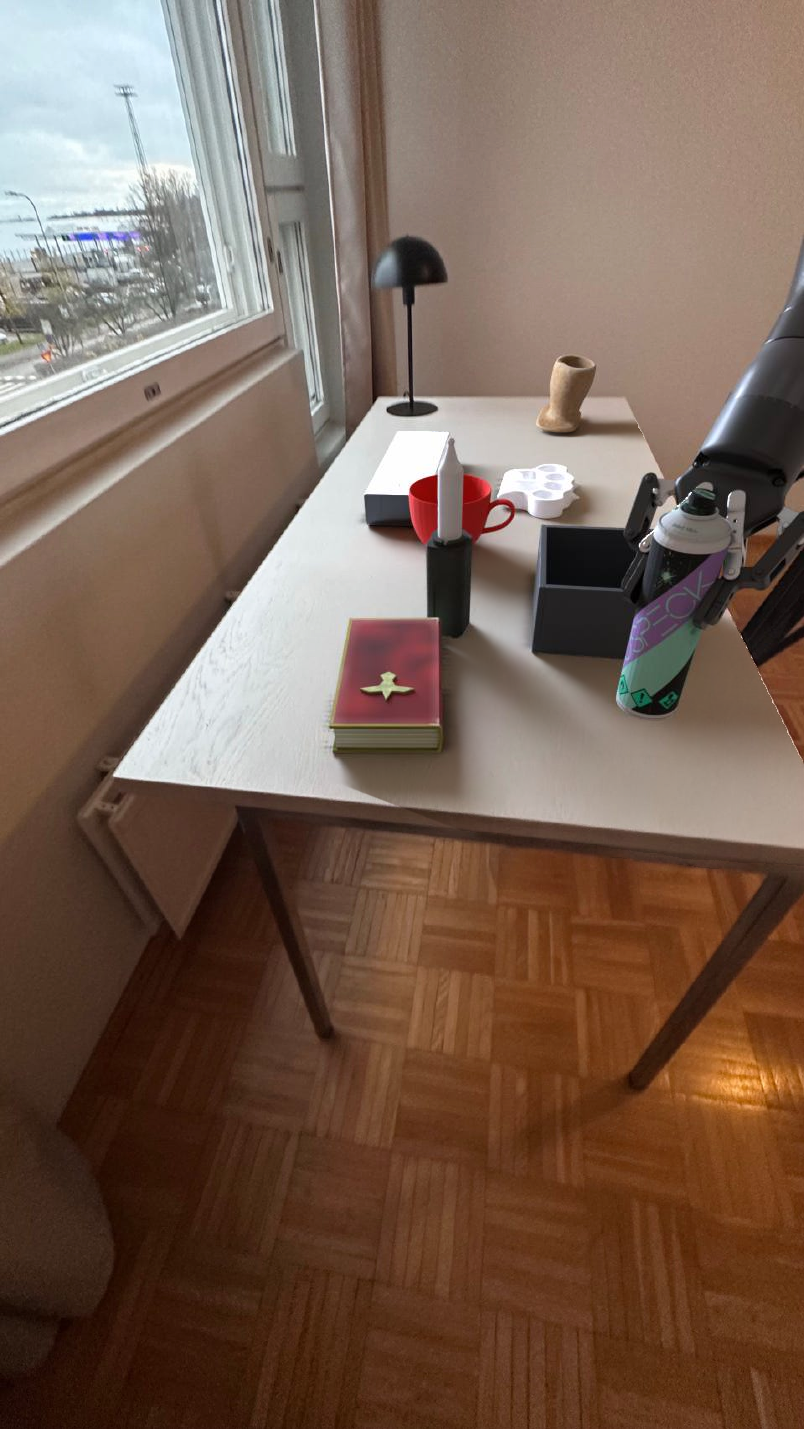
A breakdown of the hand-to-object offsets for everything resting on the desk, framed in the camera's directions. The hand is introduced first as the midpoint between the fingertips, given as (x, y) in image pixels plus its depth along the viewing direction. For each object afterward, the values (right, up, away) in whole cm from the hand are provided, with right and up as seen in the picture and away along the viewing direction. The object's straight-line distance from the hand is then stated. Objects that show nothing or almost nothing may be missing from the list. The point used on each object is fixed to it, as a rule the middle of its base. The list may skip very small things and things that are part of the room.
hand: (662, 611), depth 51 cm
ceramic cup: (-12, +19, +53) cm, 58 cm away
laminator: (-20, +35, +72) cm, 83 cm away
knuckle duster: (+5, +32, +68) cm, 75 cm away
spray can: (+2, -7, +8) cm, 11 cm away
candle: (-15, +4, +36) cm, 39 cm away
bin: (+6, +5, +35) cm, 36 cm away
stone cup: (+17, +60, +99) cm, 117 cm away
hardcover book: (-22, -6, +25) cm, 34 cm away
